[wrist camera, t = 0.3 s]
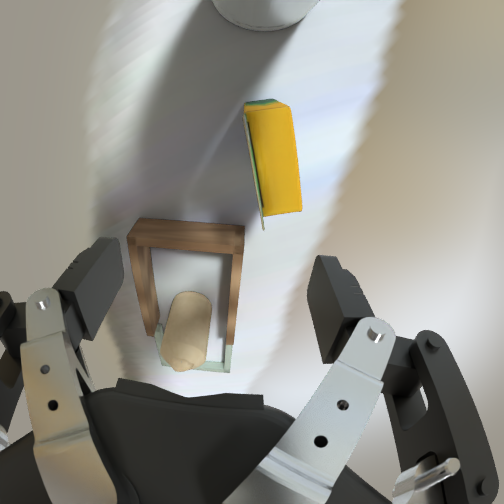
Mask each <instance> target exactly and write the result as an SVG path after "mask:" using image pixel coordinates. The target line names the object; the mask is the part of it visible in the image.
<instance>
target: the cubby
mask: <svg viewBox="0 0 504 504" xmlns="http://www.w3.org/2000/svg"><path fill="white" fill-rule="evenodd" d="M244 235H245V226H238V225H227V224H215V223H202V222H189V221H176V220H162V219H146V218H139V219H138V220H137V222H136V223H135V225H134V226H133V228H132V229H131V231H130V232H129V234H128V235H127V243H128V249H129V255H130V261H131V266H132V272H133V277H134V282H135V287H136V291H137V296H138V300H139V305H140V309H141V313H142V317H143V321H144V325H145V329H146V333H147V336H152V337H154V335H155V331H156V328H157V324H158V321H159V317H160V313H159V307H158V301H157V295H156V289H155V282H154V275H153V268H152V260H151V252H150V247H157V248H168V249H180V250H191V251H203V252H214V253H226V254H233V259H232V271H231V283H230V295H229V308H228V321H227V336H226V345H233V344H234V334H235V325H236V316H237V307H238V298H239V289H240V280H241V271H242V262H243V253H244Z"/></svg>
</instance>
